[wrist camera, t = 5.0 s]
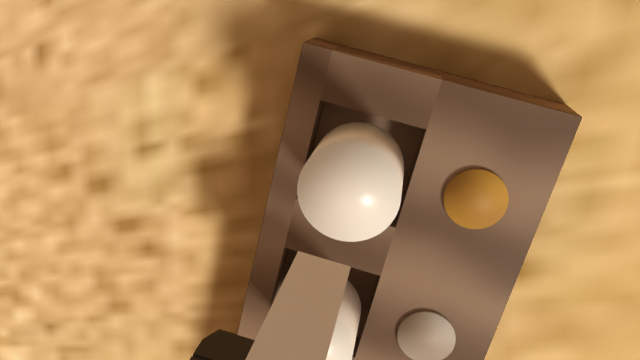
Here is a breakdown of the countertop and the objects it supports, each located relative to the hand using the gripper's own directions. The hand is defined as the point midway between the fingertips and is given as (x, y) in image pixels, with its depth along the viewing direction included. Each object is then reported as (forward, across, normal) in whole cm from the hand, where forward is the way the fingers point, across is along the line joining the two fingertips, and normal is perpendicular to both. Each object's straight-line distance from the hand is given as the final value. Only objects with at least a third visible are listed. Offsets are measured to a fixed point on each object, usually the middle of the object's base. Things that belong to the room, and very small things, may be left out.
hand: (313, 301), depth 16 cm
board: (+16, +2, -8) cm, 18 cm away
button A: (+13, 0, 0) cm, 13 cm away
